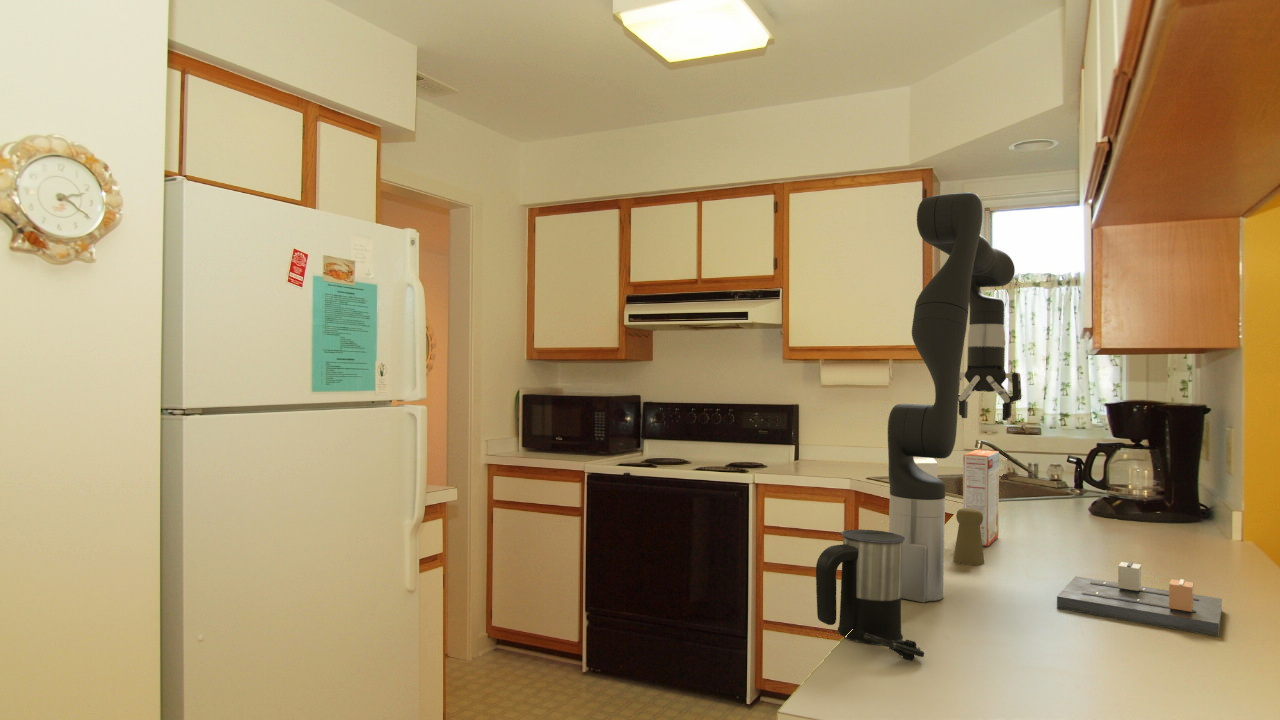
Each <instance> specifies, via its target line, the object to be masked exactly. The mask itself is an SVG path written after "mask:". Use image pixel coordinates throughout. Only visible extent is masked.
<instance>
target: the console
mask: <svg viewBox="0 0 1280 720" xmlns="http://www.w3.org/2000/svg"><path fill="white" fill-rule="evenodd" d="M1222 605H1223V599H1222V598H1220V597H1212V596H1207V595H1201V594H1200V595H1199V594H1195V593H1193V609H1192V612H1190V611H1184V610H1178V609H1172V608H1169V589H1168V590H1166V589H1162V588H1161V589H1160V588H1155V587H1154V588H1153V587H1148V586H1142V585H1141V587H1140V589H1139V591H1136V590H1129V589H1123V588H1118V582H1115V581H1110V580H1102V579H1096V578H1089V577H1083V576H1077V575H1076V576H1074V577H1073V578H1072V580H1071V581H1070V582H1069V583H1067V585H1066V586H1065V587H1064V588H1063V589H1062V590H1061V591H1060V593H1058V595H1057V596H1056V609H1059V610H1065V611H1071V612H1076V613H1082V614H1087V615H1094V616H1099V617H1103V618H1110V619H1116V620H1121V621H1127V622H1134V623H1137V624H1138V623H1139V624H1144V625H1149V626H1155V627H1161V628H1165V629H1166V628H1167V629H1173V630H1178V631H1183V632H1189V633H1195V634H1201V635H1206V636H1212V637H1218V638H1219V636H1220V628H1221V619H1222V612H1223V607H1222Z"/></svg>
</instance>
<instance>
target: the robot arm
mask: <svg viewBox="0 0 1280 720" xmlns="http://www.w3.org/2000/svg"><path fill="white" fill-rule="evenodd" d="M983 214H984V213H983V203H982V200H981V198H980V196H979V195H978V194H977V193H975V192H972V191H971V192H955V193H948V194H947V193H946V194H937V195H931V196H928V197H925V198H923V199H922V200H921V202H919V205H918V206H917V211H916V226H917V230H918V234H919V236H920V238H922V240H923V241H924V242H925V243H927V244H928V245H930V246H932V247H934V248H936V249H938V250H939V251H941V252H943V253H945V254H946V255H949V256H948V258H947V259H946V261H945V263H944V264H943V265H942V267H941V268H940V270H938V271H937V273H936V274H935V275H934V276H933V277H932V278H931V279H930V281H929V282H928V283H927V284H926V286H924V288H923V289H922V290H921V292H920V293H919V295H918V297H917V299H916V301H915V305H914V311H913V319H912V325H911V326H912V327H911V337H912V340H913V343H914V345H915V348H916V349H917V352H918V354H919V355H920V358H921V359H922V360H923V362H924V364H925V365H926V367H927V369H928V371H929V374H930V376H931V379H932V381H933V385H934V392H935V393H934V395H935V397H934V398H935V399H934V403H933V404H922V403H921V404H920V403H919V404H918V403H897V404H895V405H894V406H893V407H892V408H891V410H890V413H889V416H888V420H887V451H888V482H889V483H888V484H889V508H888V509H889V510H888V532H891V533H894V534H897V535H901V536H903V537H905V540H904V541H903V553H902V587H901V599H903V600H910V601H914V602H918V603H919V602H920V603H926V602H933V601H939V600H941V599H943V598H944V575H945V573H944V572H945V571H944V568H945V567H944V566H945V565H944V564H945V561H944V560H945V522H946V521H945V515H946V484H945V482H944V481H943V479H940V478H936V477H934V476H932V475H930V474H928V473H926V472H924V471H923V470H921V469H920V468H919V467H918V466H917V465H916V464H915V462H914V458H913V456H914V457H926V458H934V459H947V458H949V457H950V456H951V454H952V453H953V451H954V448H955V445H956V439H957V438H956V437H957V428H958V414H959V416H961V419H967V418H968V407H969V405H968V404H969V402H968V401H967V400H968V399H969V397H971V395H972V394H973V393H974V392H975V391H976V392H989V393H993V392H994V393H995V392H996V393H997V395H999V397H1000V398H1001V399H1002V401H1003V403H1002V421H1006V422H1007V421H1009V419H1010V418H1012V404H1013V402H1018V401H1021V399H1022V382H1021V378H1022V377H1021V373H1020V372H1018V371H1017V372H1016V371H1015V372H1011V373H1006V371H1005V360H1006V359H1005V358H1006V357H1005V355H1006V354H1005V351H1006V349H1005V347H1006V333H1005V303H1004V300H1003V299H1001V298H998V297H993V296H987V295H985V294H984V293H982V291H981V288H993V287H1004V286H1007V285H1008V284H1009V283H1010V282H1011V281H1012V280H1013V279H1014V276H1015V273H1016V272H1015V270H1016V269H1015V264H1014V262H1013V259H1012V258H1011V257H1010V256H1009V255H1008V254H1007V253H1006V252H1005V251H1002V250H1000V249H998V248H995V247H993V246H992V245H991V244H990V243H989V241H988V240H987V239H986V238H985V237H984V236H982V235H981V231H982V230H981V229H982V224H983ZM968 318H969V321H968ZM968 322H969V325H968V324H967V323H968ZM967 325H968V331H967ZM967 332H968V334H967V358H966V359H967V360H966V361H967V365H966V366H967V367H966V371H965V372H961V366H962V359H963V352H964V347H965V346H964V345H965V341H966V340H965V337H966V333H967ZM964 378H965V379H966V381H967V383H968V384H967V385H966V387H965V388H964V389H963V391H962V392H961V393H960V384H961V382H962V381H963V380H964ZM1007 379H1008V382H1009V383H1011V388H1012V395H1010V394H1009V393H1008V391H1007V390H1006V388H1005V387H1004V385H1003V383H1004V382H1005V380H1007Z"/></svg>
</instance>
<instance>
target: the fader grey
mask: <svg viewBox="0 0 1280 720" xmlns="http://www.w3.org/2000/svg"><path fill="white" fill-rule="evenodd" d="M1117 568H1118V577H1117V578H1118V579H1117V580H1118V581H1117V583H1118V588H1123V589H1129V590H1136V591H1139V589H1140V587H1141V586H1142V564H1140V563H1134V562H1133V561H1129V562H1125V561H1121V562H1120V563H1119V565H1118V567H1117Z"/></svg>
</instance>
